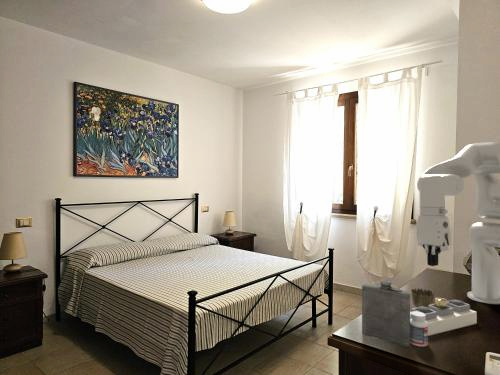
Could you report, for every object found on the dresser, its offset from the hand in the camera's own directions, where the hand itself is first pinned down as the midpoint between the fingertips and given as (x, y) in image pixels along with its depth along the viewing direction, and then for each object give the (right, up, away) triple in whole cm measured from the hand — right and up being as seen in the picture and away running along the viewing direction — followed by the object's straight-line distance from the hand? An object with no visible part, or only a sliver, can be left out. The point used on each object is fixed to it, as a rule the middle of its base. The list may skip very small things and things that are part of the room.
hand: (432, 265), depth 113 cm
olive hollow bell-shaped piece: (+2, -20, +10) cm, 23 cm away
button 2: (+10, -16, +3) cm, 19 cm away
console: (+3, -20, 0) cm, 20 cm away
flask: (-20, -21, -10) cm, 31 cm away
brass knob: (+3, -14, 0) cm, 15 cm away
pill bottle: (-11, -21, -13) cm, 27 cm away
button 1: (-5, -16, -3) cm, 17 cm away
